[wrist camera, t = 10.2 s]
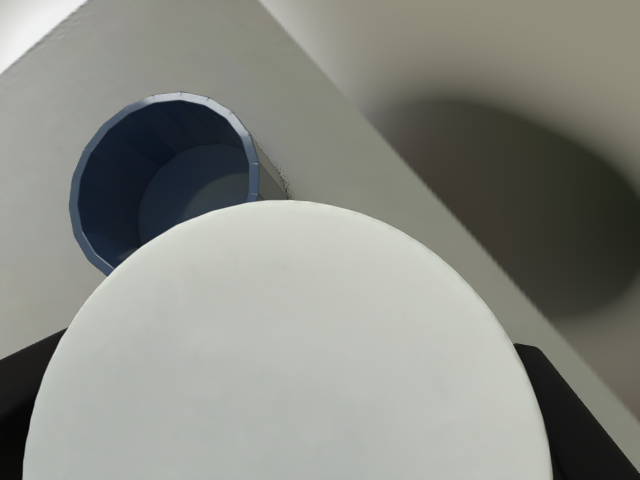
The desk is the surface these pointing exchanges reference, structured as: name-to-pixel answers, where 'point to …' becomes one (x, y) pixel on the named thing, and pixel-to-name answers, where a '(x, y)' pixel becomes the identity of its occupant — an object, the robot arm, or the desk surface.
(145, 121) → the cup
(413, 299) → the pill bottle
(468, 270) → the desk surface
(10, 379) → the robot arm
